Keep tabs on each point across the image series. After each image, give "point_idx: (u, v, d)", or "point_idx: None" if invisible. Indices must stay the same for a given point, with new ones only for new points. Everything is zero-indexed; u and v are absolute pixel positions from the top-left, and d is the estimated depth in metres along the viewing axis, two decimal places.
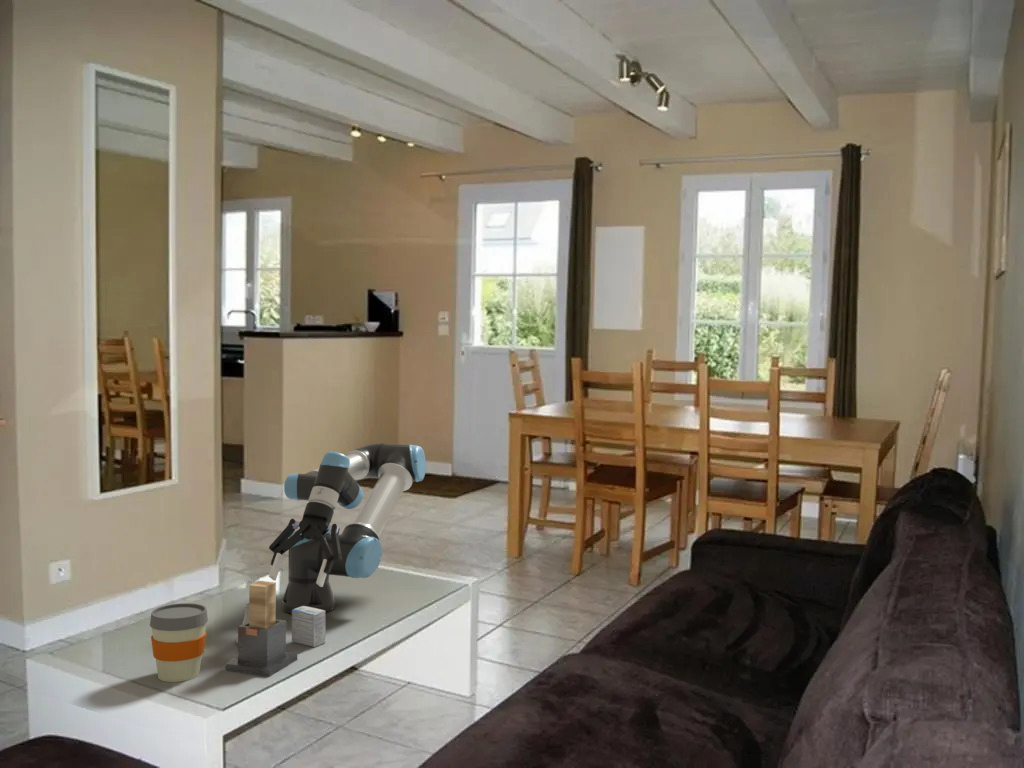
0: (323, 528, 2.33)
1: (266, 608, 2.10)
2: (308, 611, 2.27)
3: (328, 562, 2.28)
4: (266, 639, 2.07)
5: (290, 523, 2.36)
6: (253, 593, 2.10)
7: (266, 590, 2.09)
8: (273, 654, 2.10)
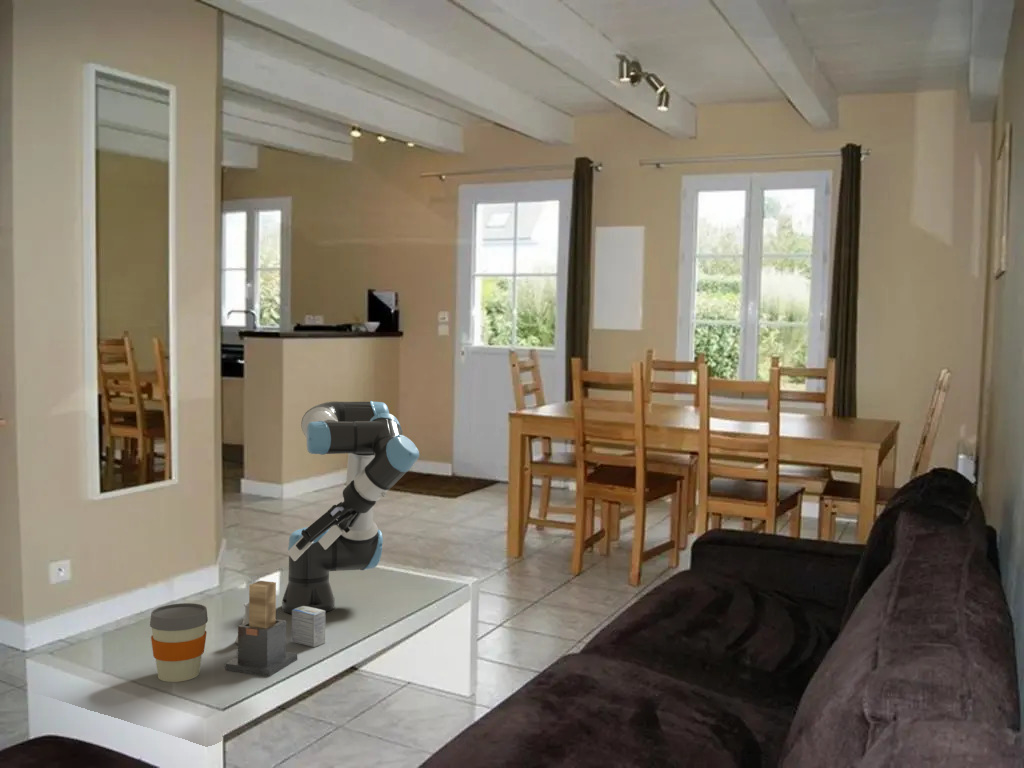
0: None
1: (266, 608, 2.10)
2: (308, 611, 2.27)
3: None
4: (266, 639, 2.07)
5: (337, 516, 1.98)
6: (253, 593, 2.10)
7: (266, 590, 2.09)
8: (273, 654, 2.10)
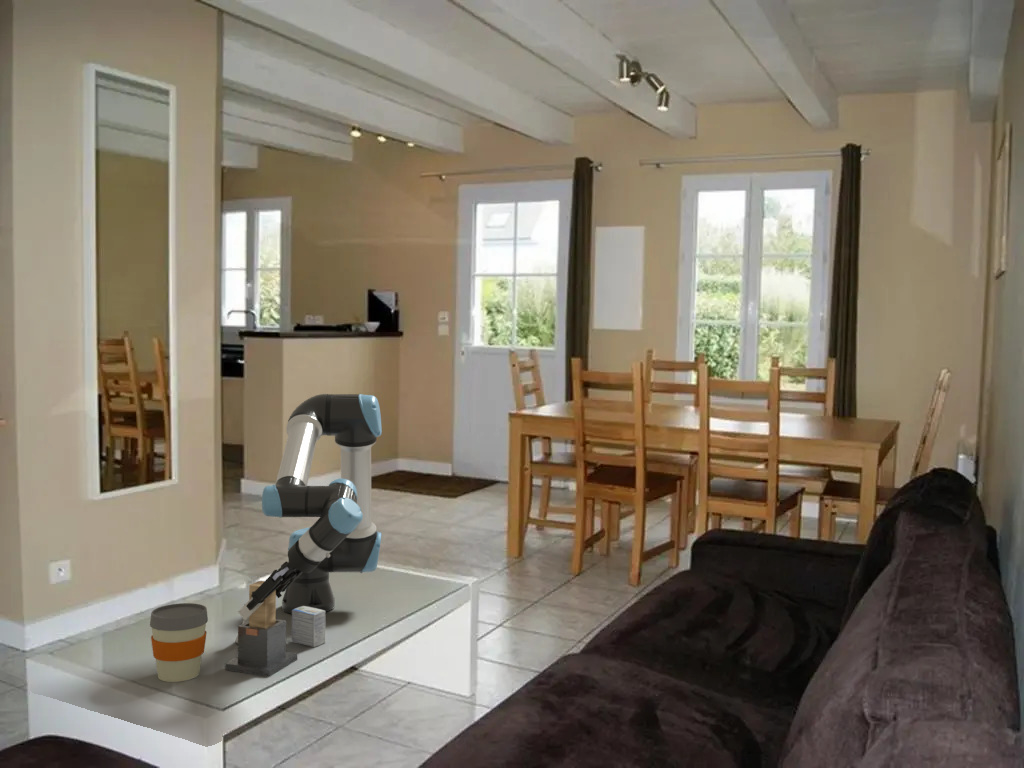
0: None
1: (266, 608, 2.10)
2: (308, 611, 2.27)
3: None
4: (266, 639, 2.07)
5: (279, 581, 2.04)
6: None
7: None
8: (273, 654, 2.10)
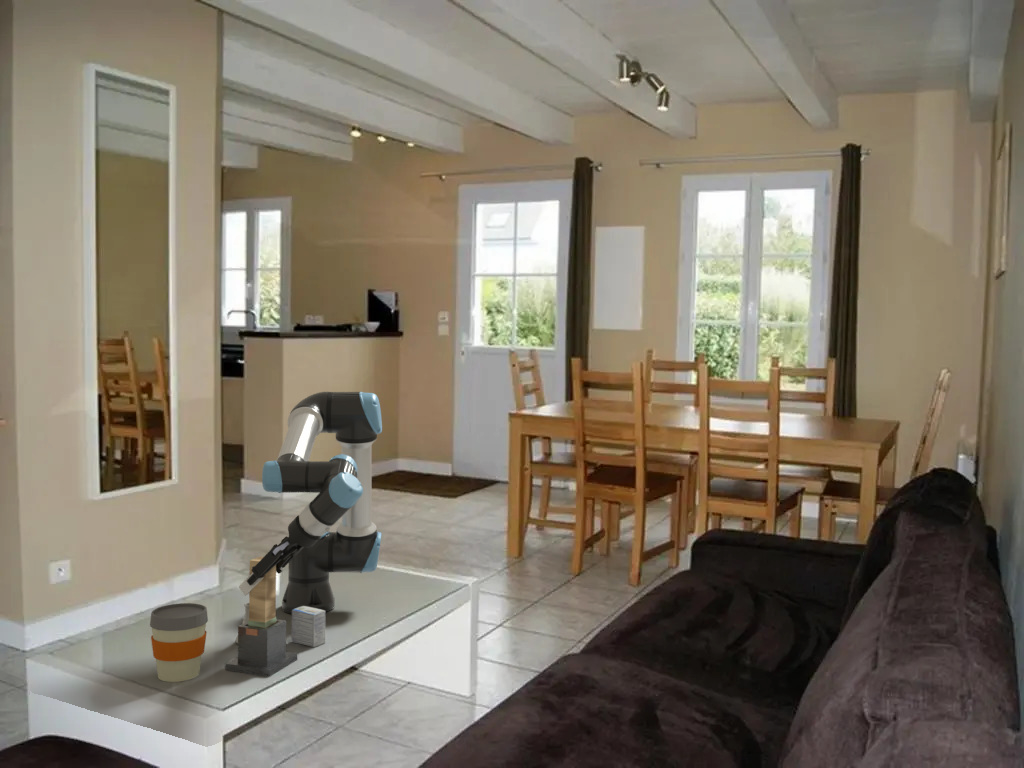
0: None
1: (266, 583, 2.09)
2: (308, 611, 2.27)
3: None
4: (266, 639, 2.07)
5: (279, 555, 2.03)
6: None
7: None
8: (273, 654, 2.10)
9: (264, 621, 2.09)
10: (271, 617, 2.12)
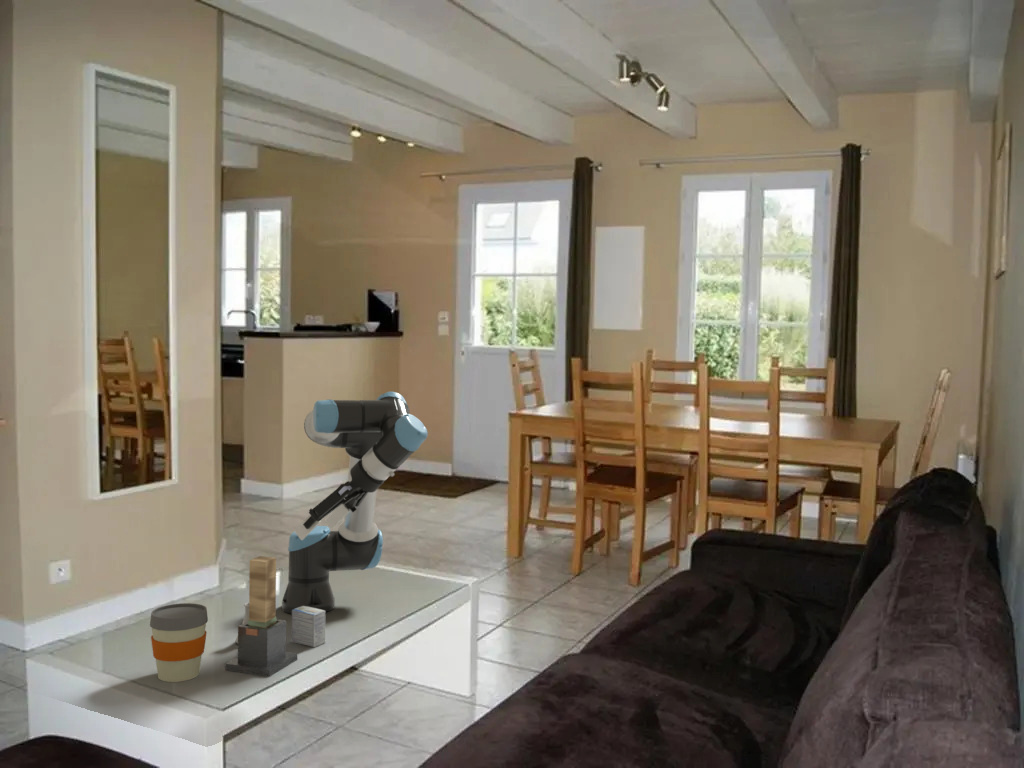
0: (364, 489, 2.07)
1: (266, 583, 2.09)
2: (308, 611, 2.27)
3: None
4: (266, 639, 2.07)
5: (345, 495, 1.97)
6: (254, 568, 2.10)
7: (266, 565, 2.09)
8: (273, 654, 2.10)
9: (264, 621, 2.09)
10: (271, 617, 2.12)
